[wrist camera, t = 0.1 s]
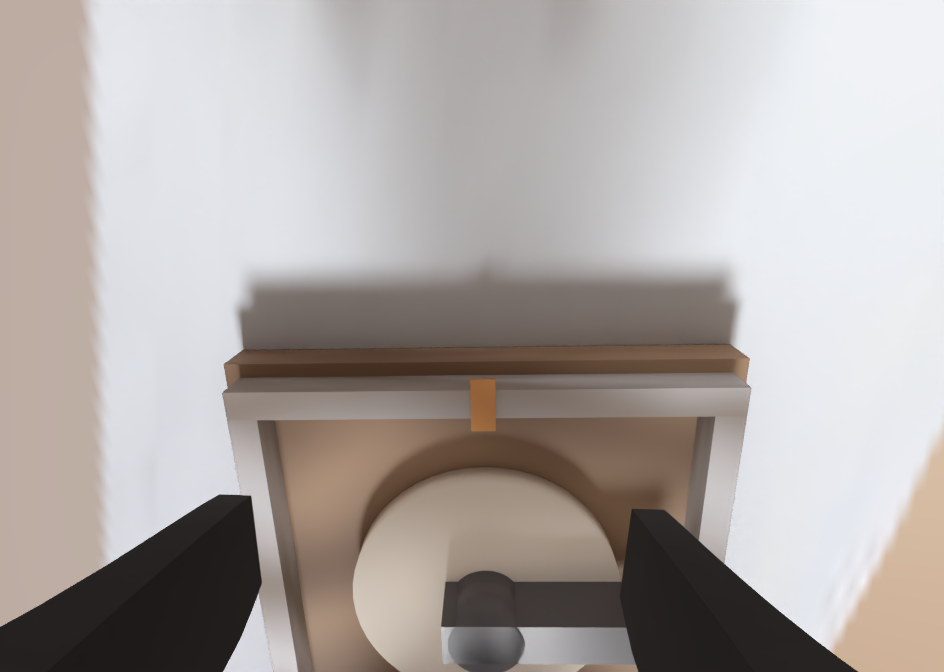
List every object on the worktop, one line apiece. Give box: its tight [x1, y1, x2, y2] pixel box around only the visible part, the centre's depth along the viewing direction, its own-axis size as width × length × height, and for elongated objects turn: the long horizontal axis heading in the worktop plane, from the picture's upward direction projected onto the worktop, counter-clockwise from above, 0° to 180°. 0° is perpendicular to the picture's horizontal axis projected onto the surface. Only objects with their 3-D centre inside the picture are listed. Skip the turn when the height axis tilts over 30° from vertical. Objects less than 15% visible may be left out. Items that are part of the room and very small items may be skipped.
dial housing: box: [222, 344, 751, 672], centre depth 21 cm, size 18×18×3 cm
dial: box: [353, 467, 636, 672], centre depth 19 cm, size 12×10×3 cm
